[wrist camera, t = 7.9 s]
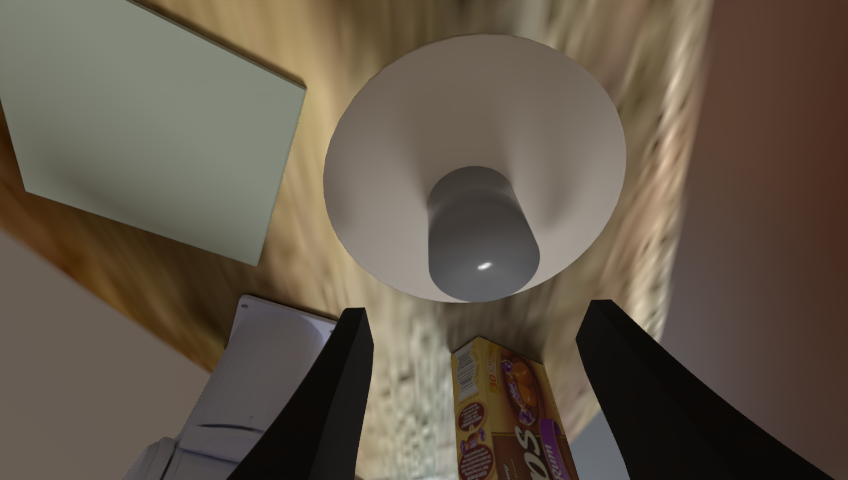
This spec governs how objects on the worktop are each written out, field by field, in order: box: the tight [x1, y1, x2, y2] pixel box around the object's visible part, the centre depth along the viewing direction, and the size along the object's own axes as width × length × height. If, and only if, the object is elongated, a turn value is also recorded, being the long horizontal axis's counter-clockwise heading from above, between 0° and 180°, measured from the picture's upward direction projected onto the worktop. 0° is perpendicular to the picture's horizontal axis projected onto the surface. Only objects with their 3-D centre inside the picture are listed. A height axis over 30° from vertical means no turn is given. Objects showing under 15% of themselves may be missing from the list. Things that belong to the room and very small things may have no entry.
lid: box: [323, 33, 626, 303], centre depth 10 cm, size 10×10×4 cm
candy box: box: [451, 336, 579, 480], centre depth 25 cm, size 9×4×15 cm, turn 54°
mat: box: [0, 0, 307, 266], centre depth 17 cm, size 13×13×1 cm
